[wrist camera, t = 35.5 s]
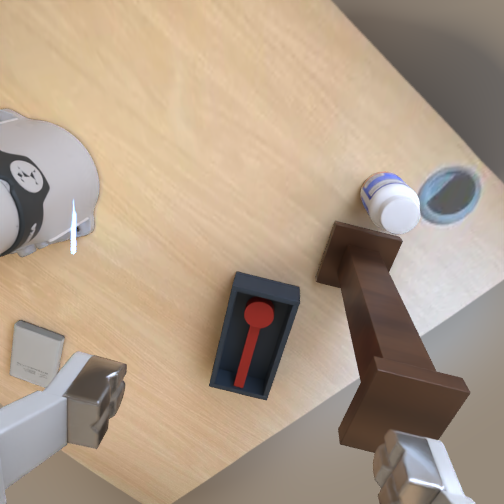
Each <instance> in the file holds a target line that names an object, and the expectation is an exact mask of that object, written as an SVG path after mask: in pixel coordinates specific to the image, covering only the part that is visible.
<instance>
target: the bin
mask: <svg viewBox="0 0 504 504" xmlns="http://www.w3.org/2000/svg"><path fill="white" fill-rule="evenodd" d="M256 296H257V297H262V298H266V299H269V300H270V301H271V302H272V303H273V305H274V319H273V321H272V323H271V324H270V325H269V326H267V327H265V328H260V331H259V335H258V338H257V342H256V345H255V349H254V352H253V356H252V359H251V363H250V366H249V369H248V373H247V376H246V380H245V383H244V387H243V388H240V387H236V386H234V381H235V378H236V374H237V370H238V367H239V363H240V359H241V356H242V352H243V348H244V345H245V341H246V338H247V334H248V330H249V327H250V325H249V324H248V323H247V322H246V320H245V317H244V311H245V307H246V304H247V302H248V301H249V300H250V299H251V298H253V297H256ZM299 304H300V287H298V286H293V285H289V284H285V283H281V282H277V281H273V280H269V279H265V278H261V277H257V276H253V275H249V274H245V273H241V272H236V275H235V278H234V282H233V285H232V289H231V294H230V298H229V302H228V307H227V311H226V315H225V319H224V324H223V328H222V332H221V337H220V341H219V345H218V349H217V354H216V358H215V362H214V367H213V371H212V375H211V379H210V384H209V386H210V387H214V388H218V389H222V390H226V391H230V392H234V393H238V394H242V395H246V396H250V397H254V398H259V399H263V400H267V398H268V395H269V392H270V389H271V386H272V383H273V380H274V377H275V374H276V372H277V369H278V366H279V363H280V360H281V357H282V354H283V351H284V348H285V345H286V342H287V339H288V336H289V333H290V330H291V327H292V324H293V321H294V319H295V316H296V313H297V310H298V306H299Z"/></svg>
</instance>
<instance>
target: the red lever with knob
mask: <svg viewBox="0 0 504 504" xmlns="http://www.w3.org/2000/svg"><path fill="white" fill-rule="evenodd" d="M244 317H245V320H246V322H247V323H248V324H249V325H250V327H249V330H248V334H247V338H246V341H245V345H244V348H243V352H242V356H241V359H240V363H239V367H238V370H237V374H236V378H235V381H234V386H236V387H240V388H243V387H244V383H245V380H246V376H247V373H248V369H249V366H250V363H251V359H252V356H253V352H254V349H255V345H256V342H257V338H258V335H259V331H260V328H265V327H267V326H269V325H270V324H271V323H272V321H273V319H274V305H273V303H272V302H271V301H270V300H269V299H266V298H262V297H257V296H256V297H253V298H251V299H250V300H249V301H248V302H247V304H246V307H245V311H244Z"/></svg>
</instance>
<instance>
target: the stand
mask: <svg viewBox="0 0 504 504" xmlns="http://www.w3.org/2000/svg"><path fill="white" fill-rule="evenodd" d="M402 242H403V241H402V239H401V238H400V237H398V236H394V235H390V234H386V233H382V232H378V231H374V230H370V229H366V228H362V227H358V226H354V225H350V224H346V223H342V222H337V221H335V223H334V226H333V228H332V231H331V234H330V237H329V240H328V243H327V246H326V248H325V251H324V254H323V257H322V260H321V263H320V266H319V269H318V271H317V274H316V282H318V283H322V284H326V285H330V286H334V287H338V288H341V293H342V297H343V302H344V306H345V311H346V316H347V320H348V325H349V329H350V334H351V339H352V343H353V348H354V352H355V357H356V362H357V366H358V371H359V375H360V380H361V383H360V385H359V388H358V389H357V392H356V394H355V396H354V398H353V400H352V402H351V404H350V406H349V408H348V410H347V412H346V414H345V416H344V418H343V421H342V422H341V425H340V427H339V428H338V432H339V441H340V444H341V445H345V446H349V447H353V448H357V449H361V450H365V451H369V452H374V453H375V452H376V450H377V448H378V446H380V445H382V444H384V443H385V439H384V436H385V434H386V432H387V431H388V430H390V429H393V430H397V431H402V432H406V433H410V434H414V435H419V436H422V437H427V438H431V439H435V440H439V438H440V437H441V435H442V434H443V432H444V431H445V430H446V428H447V427H448V425H449V424H450V422H451V421H452V419H453V418H454V416H455V415H456V413H457V412H458V411H459V409H460V408H461V406H462V405H463V403H464V402H465V400H466V399H467V397H468V396H469V395H470V391H469V389H468V387H467V386H466V384H465V382H464V380H463V378H460V377H456V376H452V375H448V374H444V373H440V372H436V369H435V367H434V365H433V363H432V361H431V359H430V357H429V355H428V353H427V351H426V349H425V347H424V345H423V343H422V341H421V338H420V336H419V334H418V332H417V330H416V328H415V326H414V324H413V322H412V320H411V317H410V315H409V313H408V311H407V309H406V307H405V305H404V303H403V301H402V299H401V297H400V295H399V293H398V290H397V288H396V286H395V284H394V282H393V280H392V278H391V276H390V274H389V271H390V269H391V266H392V264H393V262H394V260H395V258H396V255H397V253H398V251H399V249H400V246H401V244H402Z"/></svg>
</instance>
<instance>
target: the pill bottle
mask: <svg viewBox="0 0 504 504" xmlns="http://www.w3.org/2000/svg"><path fill="white" fill-rule="evenodd" d="M360 195H361V201H362V203H363V205H364V207H365V209H366V211H367V213H368V215H369V217H370V218H371V220H372V222H373V223H374V224H375V225H376V226H377V227H379V228H381V229H383V230H386V231H388V232H390V233H392V234H404V233H407V232H409V231H411V230H412V229H413V228H414V227H415V226H416V225H417V223H418V222H419V219H420V202H419V198H418V196H417V195H416V193H415V192H414V191H413V190H412V189H411V188H410V187H409V186H408V185H407V184H406V183H405V182H404V181H403V180H402V179H401V178H400V177H398V176H397V175H395V174H393V173H391V172H378V173H375V174H373V175H371V176H370V177H369V178H368V179H367V180H366V181H365V182H364V184H363V186H362V188H361V194H360Z"/></svg>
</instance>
